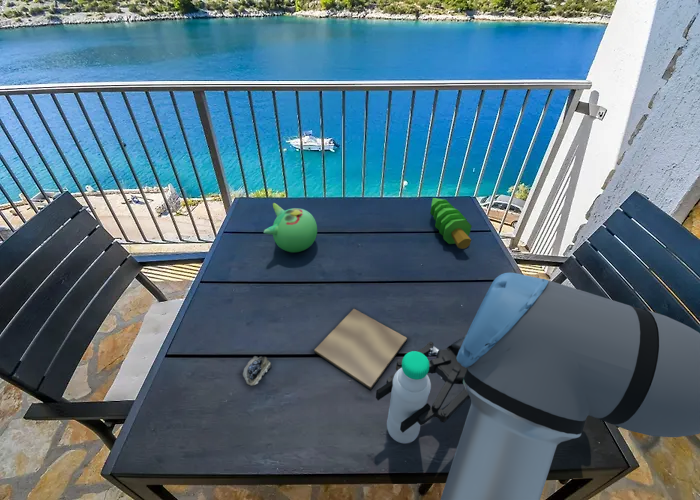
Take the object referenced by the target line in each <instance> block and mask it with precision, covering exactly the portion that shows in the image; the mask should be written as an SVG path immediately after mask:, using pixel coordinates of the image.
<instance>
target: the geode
mask: <svg viewBox="0 0 700 500" xmlns="http://www.w3.org/2000/svg"><path fill="white" fill-rule="evenodd" d="M271 367H272V363H271V362H270V360H269V359H268V357H267V356H259V357H258V356H256V355H254V356H253V357H252V358H251V359H250V360H249V361H248V362H247V364H246V365H245V367H244V368H243V372H242V376H243V377H242V378H244V380H245V382H246V384H247V385H248V386H251V387H252V386H256V385H258V384H259V382H260V381H261V380H262V376H264V375H265V373H267V372H268V370H269V369H271Z"/></svg>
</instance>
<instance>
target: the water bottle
mask: <svg viewBox="0 0 700 500" xmlns="http://www.w3.org/2000/svg"><path fill="white" fill-rule="evenodd" d="M417 351H418V350H416V351H415V350H412V351H409V352H407V353H406V354H404V356H403V357H404V358H403V357H402V358H403V360H402V368H400V369H399V370H398V371H397V370H396V372H394V373H395V375H394V378H393V387H392V391H391V392H390V400H389V407H388V413H387V419H386V430H387V432H388V434H389V436H390V437H391V438H392V439H393V440H394V441H395V442H398V443H400V444H411V443H412V442H414V441H415V440H416V439H417V438H418V437H419V434H420V431H421V426H422V425H420V424H419V423H418V422H416V423H415V424H414V425H412V426H411V427H410V428H408V429H407V430H406V431H404V432H403V433H402V431H401V430H400V426H401V422H403V421H404V420H405V419H407V418H408V417H409V416H411V415H412V414H414V413H415V412H416V411H418V410H419V409H421V408H422V407H424V406H425V405H426V404H427V403H428V400H429V395H430V393H431V389H432V383H431V379H430V377H429V375H428V374H429V373H428V371H429V361H430V360H429V358H428V357H426V356H425V355H423V354H422V353H420V352H417Z"/></svg>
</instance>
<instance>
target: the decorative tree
mask: <svg viewBox="0 0 700 500" xmlns="http://www.w3.org/2000/svg"><path fill="white" fill-rule="evenodd" d="M430 205H431V206H430V212H429V214H430V215H431V216H432V217H433V220H434V221H435V224H434V228H436V230H438V233H439V235H441V236H442V239H443V240H444V241H445V242H446V243H447V244H448V245H454V244H455V245H456V247H457V248H458V249H461V250H462V249H463V250H464V249H467V248H468V247H469V246H470V245H471V243H472V239H471V238H470V234H471V230H472V224H471V223H470V222H469V221H468V219H467V217H465V216H464V214H462V213H461V211H460V210H459V209H458V208H455V207H454V205H452V203H450V202H449V201H448V200H447V199H444V198H443V199H442V198H438V197H437V198H436V197H432V201H431V204H430Z"/></svg>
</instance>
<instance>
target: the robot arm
mask: <svg viewBox="0 0 700 500" xmlns="http://www.w3.org/2000/svg"><path fill="white" fill-rule="evenodd" d="M434 345H435V343H434V342H433V341H428V342H427V343H426V344H425V346H424V347H422V348H420V349H418V350H416V351H417V352H420V353H422V354H423V355H425V356H426V357H427V358H428V357H432V356H436V357H435V358H432V359H430V360H429V371H428V374H437V375H438V376H439V377H441V378H442V381H444V384H443V386H442V388H441V389H440V391H439V393H438V395H437V396H436V399H434V402H433V403H432V405H430V404H429V403H428V402H427V404H426V405H425V406H424V407H422V408H421V409H419V410H418V411H416V412H415V413H414V414H412V415H411V416H409V417H408V418H407V419H405V420H404V421H403V422H401V426H400V430H401V431H402V433H403V432H404V431H406V430H407V429H408V428H410V427H411V426H412V425H414V424H415V423H416V422H418V423H419V424H420V425H421V426H423V425H425V424H426V423H428V422H429V420H431V419H433V418H436V419H438V420H439V422H441V423H443V424H444V423H446V422H447V421H448V420H449V419H450V418H451V417H452V416H453V415H454V414H455V412H457V411H458V410H459V409H460V408H461V407H462V406H463V404H464V403H466V402H467V401H468V400H471V402H470V406H469V409H468V413H467V415H466V419H465V422H464V425H463V428H462V431H461V434H460V438H459V440H458V443H457V447H456V450H455V453H454V456H453V458H452V462H451V466H450V468H449V472H448V475H447V478H446V481H445V485H444V487H443V489H442V493H441V497H440V500H541V498H542V494H543V492H544V489H545V484H546V481H547V478H548V475H549V472H550V469H551V466H552V462H553V459H554V456H555V453H556V450H557V447H558V445H559V444H561V443H564V442H567V441H570V440H573V439H577V438H580V437H581V436H582V434H583V430H584V427H585V424H586V421H587V418H588V416H590V417H592V418H595V419H598V420H600V421H603V422H605V423H608V424H610V425H613V426H616V427H618V428H621V429H624V430H626V431H630V432H633V433H638V434H642V435H646V436H651V437H660V438H681V437H687V436H689V437H690V436H694V435H695V436H697V435H700V332H699V331H697V330H696V329H694V328H692V327H690V326H688V325H686V324H684V323H682V322H680V321H678V320H676V319H674V318H672V317H669V316H667V315H664V314H661V313H657V312H654V311H651V310H649V309H644V308H640V307H636V306H633V305H629V304H626V303H623V302H620V301H616V300H613V299H610V298H607V297H604V296H601V295H598V294H594V293H591V292H587V291H585V290H582V289H579V288H575V287H571V286H568V285H565V284H562V283H559V282H556V281H552V280H549V279H547V278H546V279H545V278H540V277H536V276H531V275H526V274H521V273H517V272H504V273H501V274H499V275H498V276H497V277H495V278H494V279H493V281H492V283H491V285H490V286H489V288H488V289H487V292H486V293H485V295H484V298H483V300H482V302H481V304H480V305H479V307H478V309H477V311H476V314H475V316H474V317H473V320H472V322H471V324H470V326H469V328H468V331H467V333H466V334H465V335H463V336H462V337H461V338H459V339H457V340H455V342H453V343H451V344H450V345H448V346H447V347H446V348H441V349H439V348H437V347H436V346H434ZM403 358H404V356H403V357H401V358H399V359H397V360H396V365H395V370H396V372H397V371H398V370H399V369H400V368H402V360H403ZM396 372H394V373H393V374H391V375H389V376H388V377H387V379H386V383H385V384H383V386H380V387H379V388H378V389H377V390H375V399H376V400H377V401H380V400H381V399H383V398H385V397H386V396H387V395H389V394H391V391H392V387H393V378H394V375H395V373H396ZM454 385H463V386H464V387H463V389H462V391H460V393H458V394H457V396H456V397H454V398H453V400H451V401H450V402H449V403H448V404H447V405H446V406H445V407H444V408H443V409H442V406H443V404H444V402H445V400H446V399H447V397H448V395H449V393H450V391H451V390H452V388H453V386H454Z"/></svg>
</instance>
